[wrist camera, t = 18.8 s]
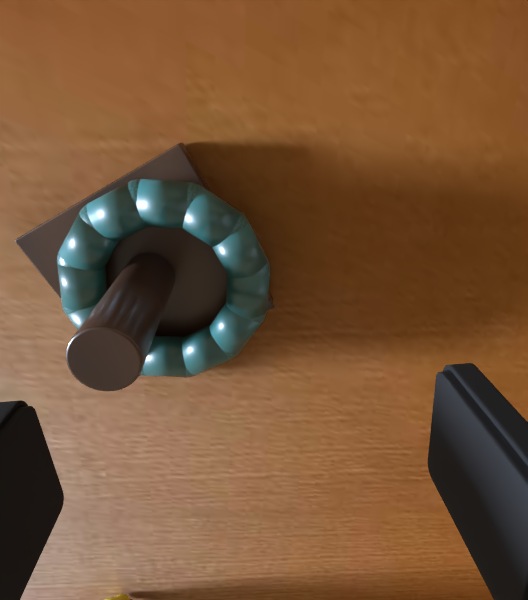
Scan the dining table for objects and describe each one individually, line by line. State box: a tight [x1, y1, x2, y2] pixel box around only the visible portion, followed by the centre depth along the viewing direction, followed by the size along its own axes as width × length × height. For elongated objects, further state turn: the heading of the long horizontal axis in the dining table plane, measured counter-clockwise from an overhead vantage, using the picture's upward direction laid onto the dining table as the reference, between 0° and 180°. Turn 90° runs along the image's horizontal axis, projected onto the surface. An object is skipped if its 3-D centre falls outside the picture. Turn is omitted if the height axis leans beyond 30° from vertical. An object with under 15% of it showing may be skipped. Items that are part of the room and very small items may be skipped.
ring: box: [57, 179, 270, 377], centre depth 20 cm, size 10×10×2 cm
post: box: [15, 143, 274, 391], centre depth 18 cm, size 9×9×9 cm
